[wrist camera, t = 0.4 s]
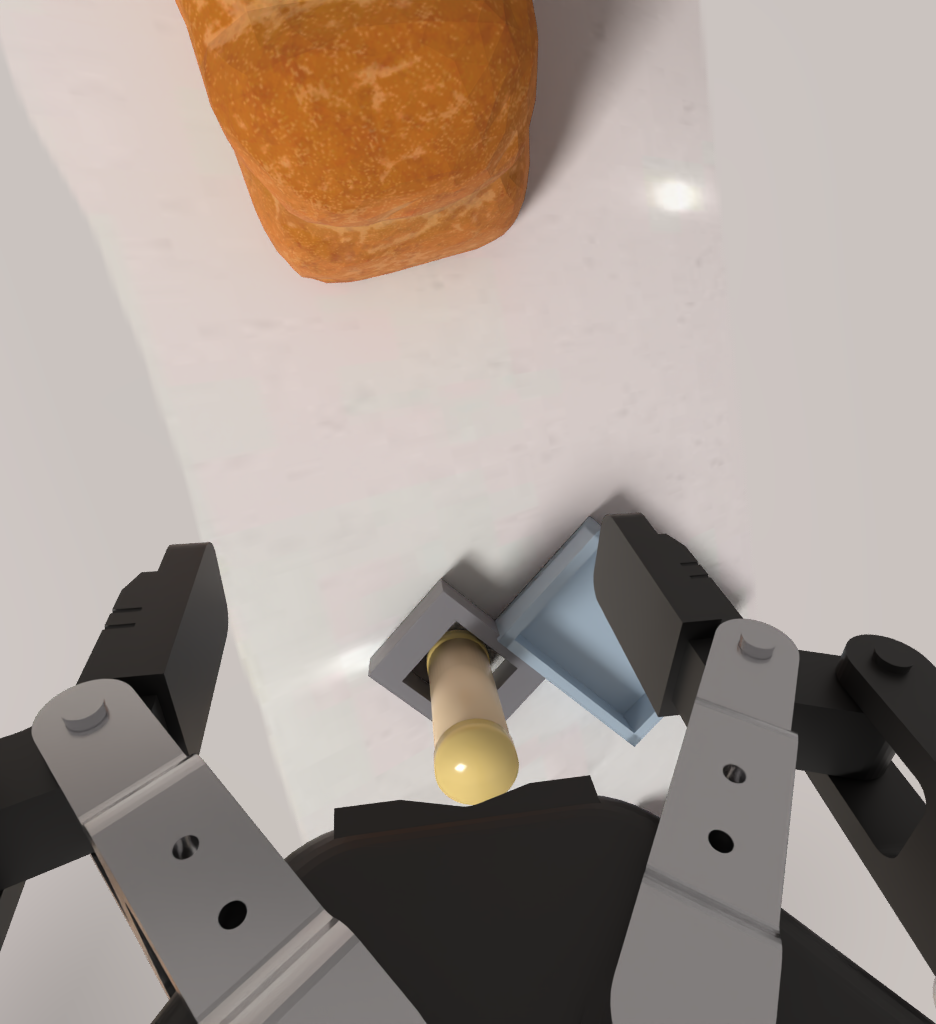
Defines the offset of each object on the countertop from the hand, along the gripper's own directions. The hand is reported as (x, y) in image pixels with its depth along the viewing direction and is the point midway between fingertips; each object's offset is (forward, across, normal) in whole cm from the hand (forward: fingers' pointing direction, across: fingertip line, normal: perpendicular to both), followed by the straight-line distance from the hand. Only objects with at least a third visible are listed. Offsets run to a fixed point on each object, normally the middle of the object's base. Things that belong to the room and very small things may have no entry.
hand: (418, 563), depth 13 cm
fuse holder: (+24, +5, -26) cm, 35 cm away
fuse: (+24, +5, -26) cm, 35 cm away
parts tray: (+24, +16, -24) cm, 37 cm away
